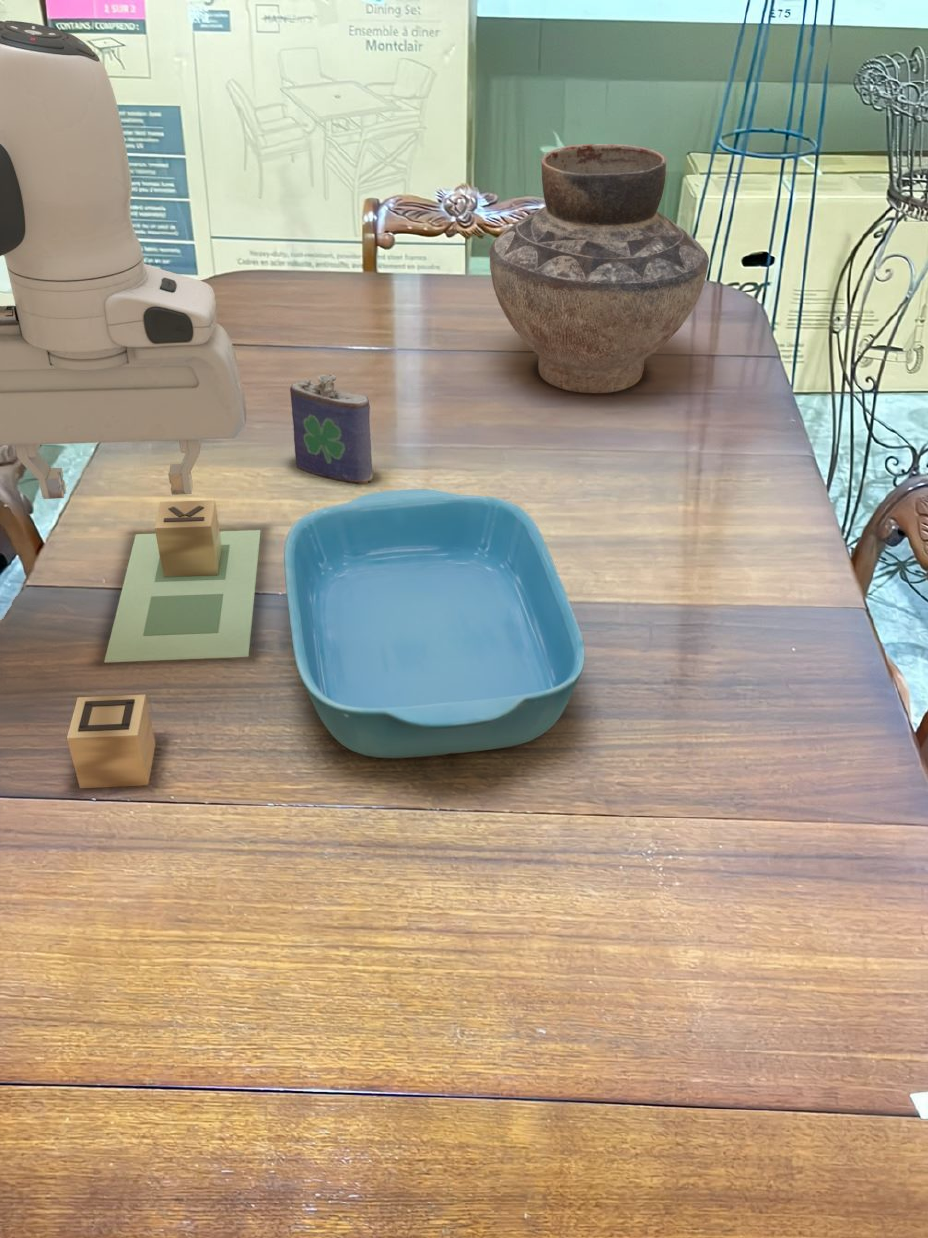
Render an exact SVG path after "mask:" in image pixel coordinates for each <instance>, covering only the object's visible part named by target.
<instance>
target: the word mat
mask: <svg viewBox="0 0 928 1238" xmlns="http://www.w3.org/2000/svg"><path fill="white" fill-rule="evenodd" d="M219 531H220V530H219ZM261 531H262V530H261V529H255V530H254V529H250V530H249V529H247V530H221V531H220V538H221V545H222V552H221V559H220V566H219V573H218V575H208V576H180V577H163V572H162V566H161V561H160V555H159V550H158V544H157V539H156V533H135V536H134V540H133V544H132V548H131V551H130V556H129V561H128V564H127V568H126V572H125V576H124V579H123V584H122V589H121V593H120V596H119V600H118V605H117V609H116V613H115V617H114V621H113V625H112V629H111V633H110V638H109V641H108V645H107V648H106V649H107V650H106V652H105V657H104V661H103V662H104V663H106V664H107V663H129V662H130V663H131V662H154V661H155V662H157V661H178V660H180V661H181V660H203V659H204V660H206V659H207V660H208V659H226V658H227V659H229V658H230V659H231V658H249V657H250V646H251V636H252V626H253V615H254V605H255V604H254V603H255V594H256V593H255V592H256V583H257V574H258V563H259V552H260V541H261Z"/></svg>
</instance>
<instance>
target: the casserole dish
mask: <svg viewBox="0 0 928 1238" xmlns="http://www.w3.org/2000/svg"><path fill="white" fill-rule="evenodd" d="M283 565H284V566H283V567H284V580H285V588H286V589H285V590H286V598H287V599H286V600H287V608H288V616H289V617H288V618H289V626H290V634H291V636H290V637H291V643H292V649H293V656H294V660H295V665H296V668H297V672H298V675H299V677H300V679H301V681H302V683H303V685H304V687H305V689H306V692H307V693H308V696H309V698H310V701H311V703H312V705H313V707H314V709H315V711H316V713H317V714H318V717H319V718H320V719H319V720H321V722H322V724H323V726H325V728H326V729H327V731H328V732H329V733H330V734H331V736H332V737H333V738H334V739H335V740H336V741H337V742H338V743H339V744H341V745H342V746H343V747H345V748H346V749H348V750H350V751H351V752H354V753H357V754H359V755H363V756H366V757H372V758H379V759H411V758H412V759H413V758H427V757H437V756H446V755H449V754H466V753H473V752H483V751H491V750H499V749H504V748H509V747H516V746H520V745H522V744H526V743H529V742H531V741H533V740H535V739H537V738H539V737H540V736H542V735H544V734H545V733H547V732H548V731H549V730H550V729H551V728H552V727H554V725H555V724H556V723H557V721H559V719H560V717H561V716H562V714H563V713H564V711H565V709H566V707H567V706H568V703H569V701H570V699H571V696H572V694H573V692H574V691H575V687H576V686H577V683H578V681H579V679H580V677H581V675H582V673H583V670H584V666H585V661H586V649H585V644H584V638H583V636H582V632H581V629H580V625H579V623H578V620H577V618H576V615H575V612H574V609H573V608H572V605H571V603H570V599H569V598H568V595H567V593H566V591H565V588H564V586H563V583H562V580H561V578H560V576H559V575H560V574H559V573H558V570H557V568H556V566H555V563H554V561H553V558H552V555H551V553H550V551H549V548H548V546H547V543H546V541H545V540H544V537H543V535H542V532H541V531H540V529H539V527H538V525H537V524H536V522H535V521H534V520H533V518H531V516H530V515H529V514H528V513H527V512H526V511H525V510H524V509H522V508H521V507H520V506H518V505H516V504H514V503H512V502H510V501H508V500H505V499H502V498H499V497H492V496H486V495H473V494H472V495H471V494H458V493H457V494H456V493H452V492H448V491H442V490H437V489H428V488H411V489H396V490H387V491H386V490H384V491H378V492H372V493H367V494H363V495H360V496H358V497H356V498H354V499H352V500H350V501H348V502H344V503H340V504H336V505H335V504H334V505H331V506H325V507H323V508H318V509H316V510H314V511H311V512H309V513H307V514H305V515H304V516H301V517H300V518H299V519H298V520H297V521H296V522H295V523H294V524H293V525H292V526H291V527H290V530H289V531H288V533H287V535H286V539H285V544H284V550H283Z"/></svg>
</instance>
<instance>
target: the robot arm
mask: <svg viewBox="0 0 928 1238" xmlns="http://www.w3.org/2000/svg"><path fill="white" fill-rule="evenodd" d="M120 115H121V114H120V111H119V107H118V103H117V99H116V95H115V92H114V88H113V86H112V82H111V79H110V77H109V73H108V72H107V69H106V67H105V65H104V63H103V62H102V60H101V59H100V57H99V56H98V55H97V53H95V52H94V50H93V49H92V48H91V47H90V46H89V45H88V44H86V42H84V41H83V40H81V39H80V38H78V37H77V36H75V35H74V34H71V33H70V32H66V31H62V30H60V29H59V28H56V27H52V26H47V25H42V24H38V23H35V22H25V21H17V20H5V21H2V20H0V257H2V256H3V258H4V260H5V265H6V269H7V273H8V278H9V283H10V287H11V291H12V296H13V301H14V305H0V446H1V447H2V446H3V447H4V446H14V450H15V454H16V459H17V460H18V461H19V462H20V463H21V464H22V465H23V466H24V467H25V468H26V470H28V472H29V473H30V474H32V477H34V478H35V479H37V480H38V484H39V489H40V493H41V497H42V499H43V500H51V499H52V500H54V499H64V498H65V495H66V492H67V486H66V481H65V480H64V471H63V468H62V467H51V466H50V464H49V463H48V462H47V461H46V460H45V458H43V456H42V455H41V453H40V452H39V450H40V447H41V445H66V444H68V445H70V444H71V445H73V444H98V443H99V444H101V443H134V442H135V443H136V442H137V443H138V442H139V443H140V442H166V441H167V442H168V441H178V444H179V451H180V453H182V454H184V455H183V457H182V461H181V462H180V463H173V464H172V463H170V465H169V471H168V480H169V484H170V493H171V495H172V496H174V495H175V496H176V495H192V493H193V487H194V486H193V485H194V484H193V476H192V470H193V469H194V466H195V464H196V463H197V460H198V458H199V456H200V454H201V449H202V442H203V440H204V441H205V440H233V439H236V438H237V437H238V436H239V435H240V434H241V432H242V431H243V429H244V428H245V426H246V422H247V403H246V395H245V390H244V389H245V388H244V384H243V379H242V375H241V370H240V365H239V361H238V358H237V354H236V350H235V348H234V345H233V342H232V339H231V338H230V336H229V334H228V333H227V331H226V330H225V328H224V327H223V326H222V325H220V324H219V323H218V322H217V315H218V314H217V313H218V312H217V300H216V295H215V291H214V289H213V287H212V286H211V285H210V284H209V283H207V282H205V281H202V280H199V279H196V278H191V277H188V276H185V275H181V274H178V273H175V272H172V271H168V270H165V269H162V268H159V267H156V266H153V265H150V264H148V263H145V260H144V254H143V253H144V252H143V248H142V245H141V242H140V239H139V238H138V236H137V233H136V231H135V228H134V225H133V221H132V215H131V199H132V192H133V181H132V175H131V167H130V161H129V156H128V155H129V154H128V150H127V145H126V139H125V134H124V129H123V125H122V119H121V116H120Z"/></svg>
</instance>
